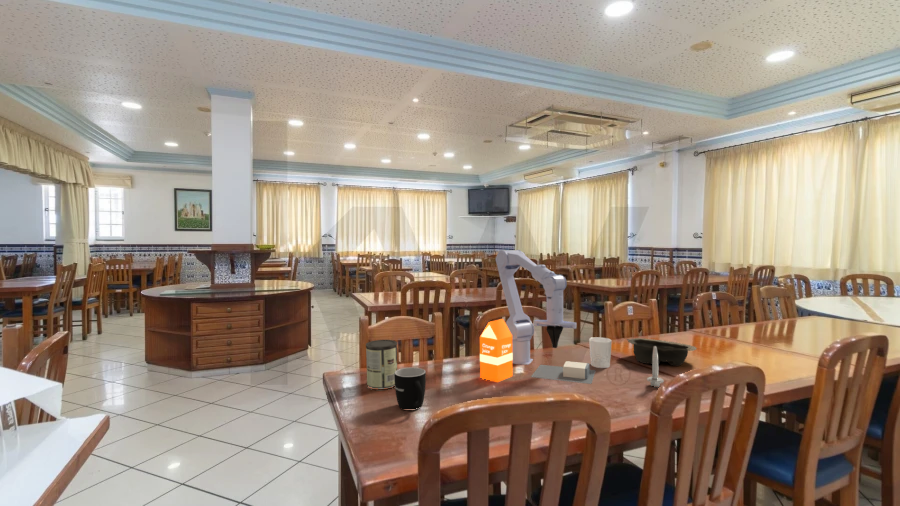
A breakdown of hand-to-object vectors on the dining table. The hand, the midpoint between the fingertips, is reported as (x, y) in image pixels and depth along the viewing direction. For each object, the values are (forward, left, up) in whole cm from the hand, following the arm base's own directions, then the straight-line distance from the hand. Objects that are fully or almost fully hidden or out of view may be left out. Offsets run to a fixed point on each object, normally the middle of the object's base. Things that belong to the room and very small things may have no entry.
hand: (555, 347), depth 154 cm
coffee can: (-51, -33, -10) cm, 61 cm away
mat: (+3, 0, -9) cm, 10 cm away
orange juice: (-18, -12, -10) cm, 24 cm away
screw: (+32, -2, -10) cm, 34 cm away
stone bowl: (+35, +31, -10) cm, 48 cm away
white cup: (+14, +15, -10) cm, 23 cm away
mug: (-32, -47, -10) cm, 58 cm away
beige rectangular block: (+3, 0, -7) cm, 8 cm away
